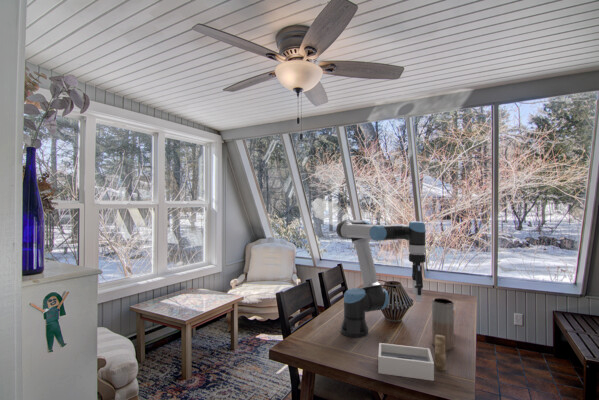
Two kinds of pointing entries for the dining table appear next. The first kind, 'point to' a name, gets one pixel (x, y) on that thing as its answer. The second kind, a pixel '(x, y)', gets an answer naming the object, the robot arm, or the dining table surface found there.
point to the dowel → (440, 352)
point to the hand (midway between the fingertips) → (417, 297)
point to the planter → (443, 321)
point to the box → (405, 361)
